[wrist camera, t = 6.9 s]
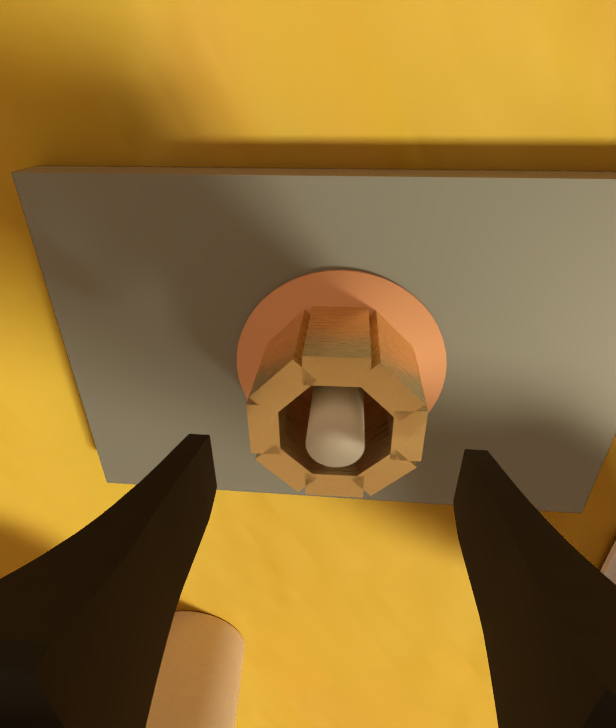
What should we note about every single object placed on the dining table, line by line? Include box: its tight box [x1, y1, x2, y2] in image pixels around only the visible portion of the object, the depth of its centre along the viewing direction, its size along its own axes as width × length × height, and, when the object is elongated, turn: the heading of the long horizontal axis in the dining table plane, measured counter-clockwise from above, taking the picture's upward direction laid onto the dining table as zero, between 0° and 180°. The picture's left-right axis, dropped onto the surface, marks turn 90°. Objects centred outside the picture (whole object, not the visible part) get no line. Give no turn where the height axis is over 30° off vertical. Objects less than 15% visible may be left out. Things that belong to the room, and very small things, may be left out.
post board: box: [11, 166, 616, 513], centre depth 17 cm, size 22×14×6 cm, turn 90°
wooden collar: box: [246, 306, 428, 498], centre depth 16 cm, size 6×6×4 cm
